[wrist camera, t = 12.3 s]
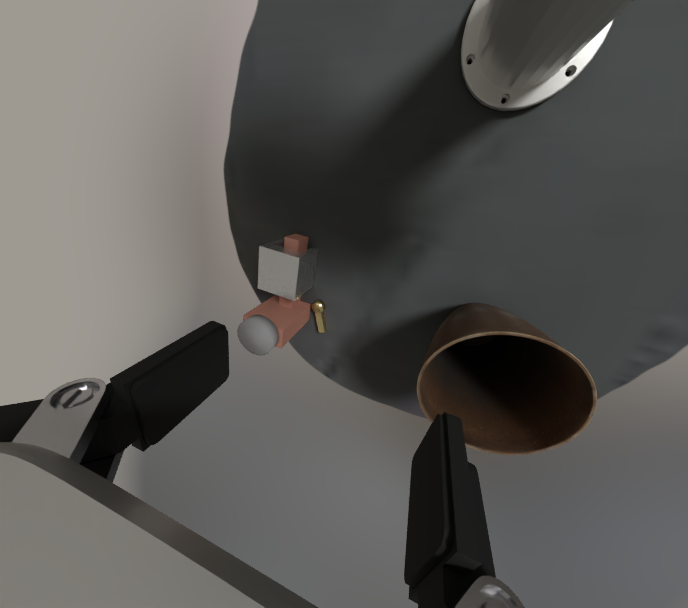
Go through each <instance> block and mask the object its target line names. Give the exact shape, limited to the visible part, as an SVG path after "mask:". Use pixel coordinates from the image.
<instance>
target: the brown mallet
mask: <svg viewBox="0 0 688 608" xmlns="http://www.w3.org/2000/svg"><path fill="white" fill-rule="evenodd" d="M308 238H309V237H306V236H302V235H299V234H293V235H289V236H285V241H284V247H285V248H289V249H292V250H295V251H299V252H304V251H306V250H307V246H308ZM300 299H301V296H300V297H299V298H298V299H297V300H295V301H293V300H290V299H287V298H284V297H281V296H278V295H274V296H273V297H271V298H270V299H268V300H267V301H265V302H263V303H262V304H260V305H259V306H257V307H256V308H254V309H253V310H251V311H250V312H248V313H246V314H245V315H244V321H243V322H242V323H241V324H240V325H239V327H238V337H239V340H240V342H241V343H242V345H243V346H244V347H245V348H246V349H247V350H248V351H250V352H251V353H253V354H256V355H265V354H268V353H269V352H270V351H271V350H272V349H273V348H274V347H275V346H276V347H279V348H282V347H283V346H284V345H285V344H286V343H287V342H288V341H289V340H290V339H291V338H292V337H293V336H294V335H295V334H296V333H297V332H298V331H299V330H300V329H301V328H302V327H303V326H304V325H305V324H306V322H307V321H308V320H309V316H310V310H311V304H309V303H306V302H303V301H300Z"/></svg>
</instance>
